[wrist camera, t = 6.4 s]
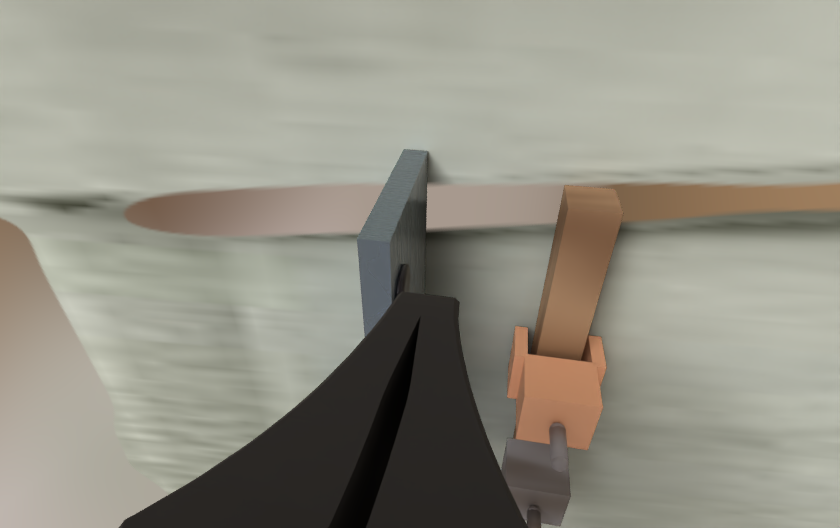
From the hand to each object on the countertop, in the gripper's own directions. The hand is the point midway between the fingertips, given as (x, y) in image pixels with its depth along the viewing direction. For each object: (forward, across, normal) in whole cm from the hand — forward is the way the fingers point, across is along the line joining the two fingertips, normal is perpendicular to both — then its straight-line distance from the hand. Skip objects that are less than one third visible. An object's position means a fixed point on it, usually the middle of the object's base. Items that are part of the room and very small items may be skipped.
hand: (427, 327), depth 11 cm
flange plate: (+10, +2, +9) cm, 14 cm away
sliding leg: (+10, -5, +10) cm, 15 cm away
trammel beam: (+10, -5, +10) cm, 15 cm away
